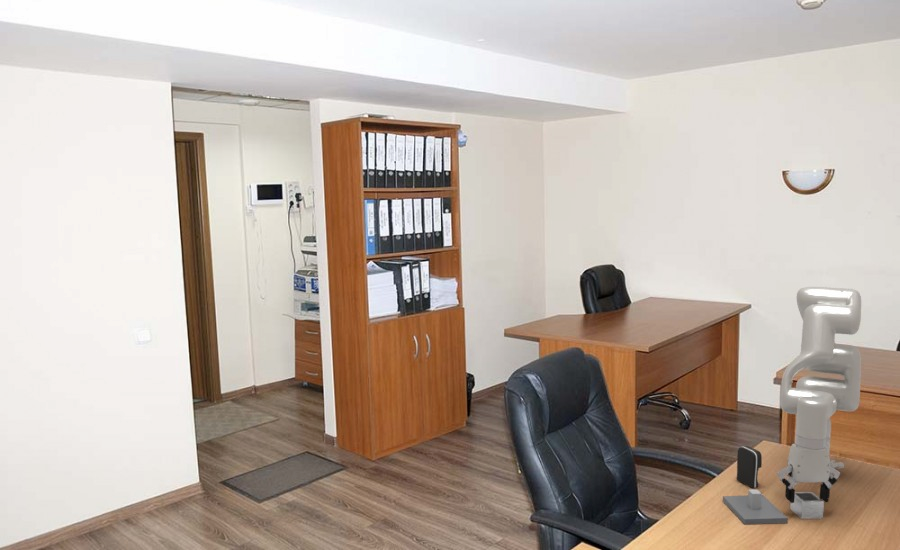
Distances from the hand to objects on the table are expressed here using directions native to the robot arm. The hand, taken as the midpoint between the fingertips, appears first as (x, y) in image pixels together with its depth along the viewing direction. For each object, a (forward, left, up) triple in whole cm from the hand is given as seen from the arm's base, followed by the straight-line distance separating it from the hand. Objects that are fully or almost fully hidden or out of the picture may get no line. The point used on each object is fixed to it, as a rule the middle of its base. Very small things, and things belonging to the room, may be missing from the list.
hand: (806, 500), depth 192 cm
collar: (0, -1, -4) cm, 4 cm away
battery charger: (+7, -21, -4) cm, 22 cm away
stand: (+14, -3, -4) cm, 14 cm away
